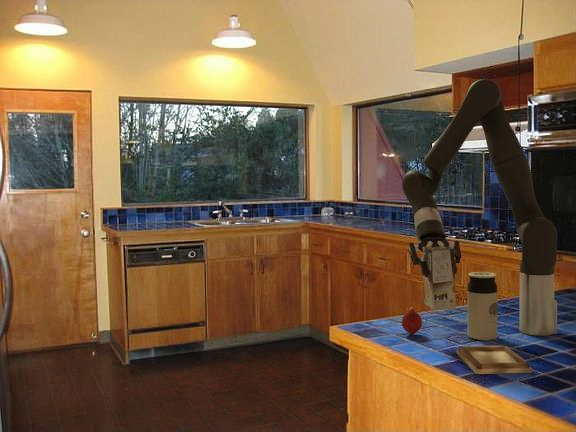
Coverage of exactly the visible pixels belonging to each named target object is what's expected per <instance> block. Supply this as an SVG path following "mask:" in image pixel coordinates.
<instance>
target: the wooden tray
mask: <svg viewBox="0 0 576 432" xmlns="http://www.w3.org/2000/svg"><path fill="white" fill-rule="evenodd" d="M456 355H457V356H458V357H459V358H460V359H461V360H462V361H463V362H464V363H465V364H466V365H467V366H468V367H469V368H470V369H471V371H473V372H474V374H475V375H487V374H488V375H489V374H490V375H491V374H493V375H495V374H496V375H497V374H527V373H528V374H531V373H533V368H532V367H531V366H530V363H529V362H528V361H527V360H525V359H524V358H523V357H521V356H520V354H517V353H516V352H515V351H513V350H512V349H511V348H510V347H508V346H507V345H506V344H505V345H475V346H474V345H472V346H470V345H467V346H466V345H465V346H459V347H458V349H456Z"/></svg>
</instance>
